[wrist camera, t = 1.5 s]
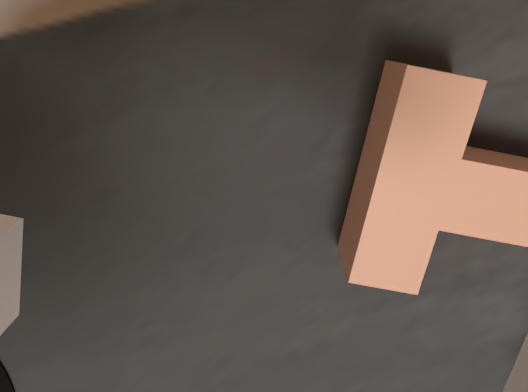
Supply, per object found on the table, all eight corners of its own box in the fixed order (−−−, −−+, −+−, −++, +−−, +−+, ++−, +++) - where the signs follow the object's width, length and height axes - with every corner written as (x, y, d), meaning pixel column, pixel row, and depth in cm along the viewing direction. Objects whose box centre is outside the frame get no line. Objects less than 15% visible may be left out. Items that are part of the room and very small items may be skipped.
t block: (583, 99, 29) (644, 111, 24) (513, 278, 33) (554, 319, 28) (385, 59, 29) (407, 64, 24) (337, 245, 32) (348, 282, 28)
